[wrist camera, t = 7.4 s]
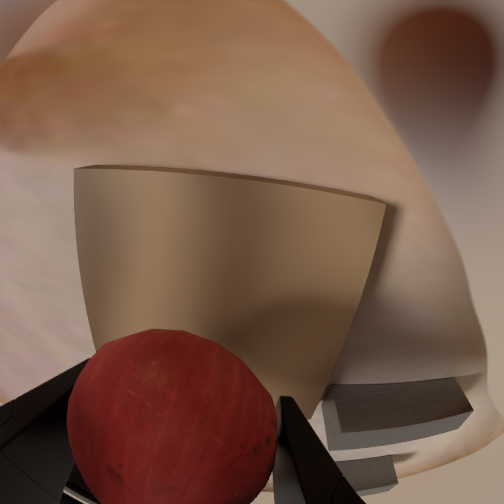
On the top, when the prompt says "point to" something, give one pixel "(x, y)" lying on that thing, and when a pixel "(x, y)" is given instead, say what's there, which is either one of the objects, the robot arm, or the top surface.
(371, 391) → the twin grey rails
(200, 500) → the onion
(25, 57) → the top surface
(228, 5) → the top surface
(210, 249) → the tan board
